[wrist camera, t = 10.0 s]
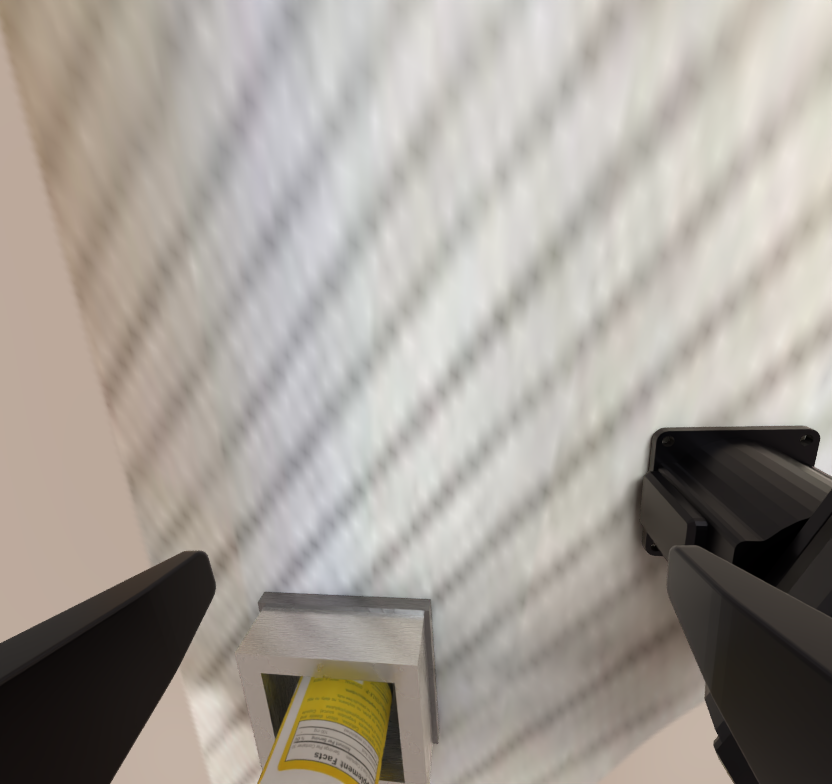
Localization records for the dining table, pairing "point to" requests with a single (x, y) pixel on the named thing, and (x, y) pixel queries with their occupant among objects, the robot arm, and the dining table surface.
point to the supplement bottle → (331, 733)
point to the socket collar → (346, 667)
